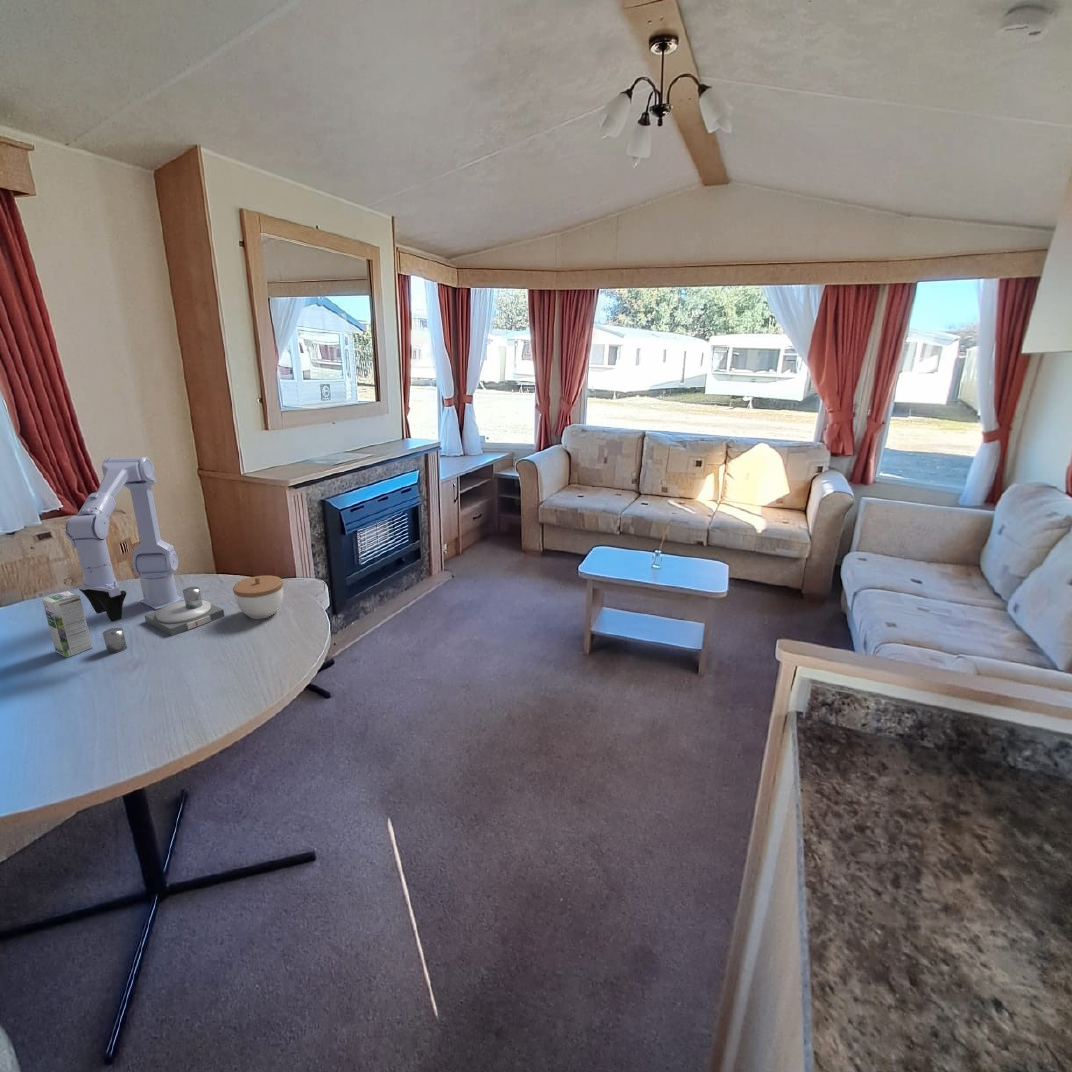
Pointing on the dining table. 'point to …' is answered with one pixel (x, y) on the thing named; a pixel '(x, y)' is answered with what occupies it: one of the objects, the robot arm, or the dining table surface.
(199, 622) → the scale
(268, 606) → the lidded bowl
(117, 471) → the robot arm
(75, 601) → the syrup box
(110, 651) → the cylinder
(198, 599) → the cylinder
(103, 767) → the dining table surface
